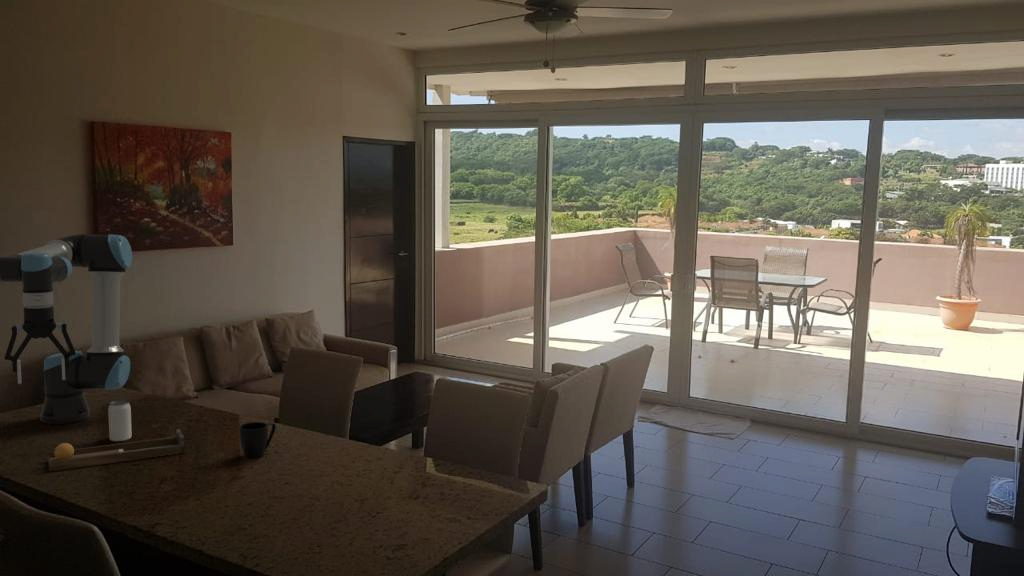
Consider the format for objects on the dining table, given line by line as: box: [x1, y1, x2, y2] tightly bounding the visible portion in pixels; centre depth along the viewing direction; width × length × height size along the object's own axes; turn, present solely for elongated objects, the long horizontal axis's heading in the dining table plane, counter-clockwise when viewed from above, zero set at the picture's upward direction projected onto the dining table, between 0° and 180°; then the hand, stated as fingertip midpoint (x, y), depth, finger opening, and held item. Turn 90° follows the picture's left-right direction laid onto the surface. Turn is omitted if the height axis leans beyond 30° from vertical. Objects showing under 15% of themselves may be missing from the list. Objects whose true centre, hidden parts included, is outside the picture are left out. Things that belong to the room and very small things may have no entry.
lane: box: [48, 428, 185, 472], centre depth 237 cm, size 10×36×5 cm, turn 120°
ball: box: [53, 442, 74, 460], centre depth 229 cm, size 5×5×5 cm
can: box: [107, 400, 133, 443], centre depth 253 cm, size 6×6×12 cm
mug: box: [239, 421, 277, 460], centre depth 242 cm, size 8×12×10 cm
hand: (42, 380), depth 231 cm, fingers open, 10 cm apart
